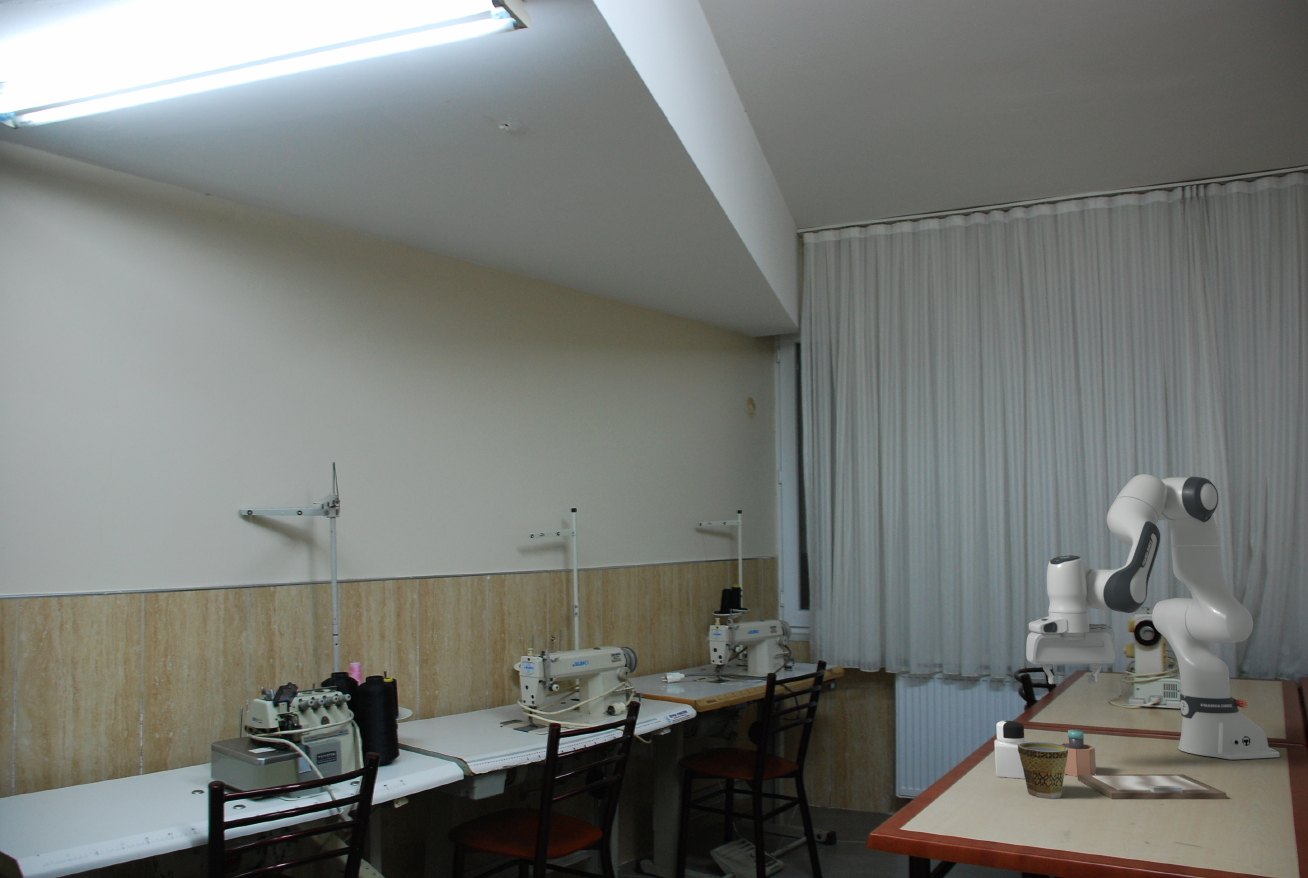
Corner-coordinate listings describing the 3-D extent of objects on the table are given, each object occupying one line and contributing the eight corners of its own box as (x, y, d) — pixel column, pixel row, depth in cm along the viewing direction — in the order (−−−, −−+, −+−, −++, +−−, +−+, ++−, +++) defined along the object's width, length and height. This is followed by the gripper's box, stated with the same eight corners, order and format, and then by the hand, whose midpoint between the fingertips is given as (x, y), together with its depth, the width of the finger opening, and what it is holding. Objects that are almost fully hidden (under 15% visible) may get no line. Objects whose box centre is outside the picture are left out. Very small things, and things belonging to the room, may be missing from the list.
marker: (1081, 768, 219) (1079, 729, 220) (1088, 772, 216) (1085, 732, 217) (1067, 768, 219) (1065, 729, 220) (1073, 772, 216) (1071, 732, 217)
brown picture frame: (1183, 779, 210) (1183, 769, 210) (1226, 798, 194) (1225, 787, 195) (1077, 779, 210) (1077, 769, 211) (1111, 798, 194) (1111, 788, 195)
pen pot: (1085, 768, 221) (1084, 742, 222) (1100, 776, 214) (1099, 749, 214) (1054, 768, 221) (1053, 742, 222) (1068, 776, 214) (1066, 749, 214)
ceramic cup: (1081, 798, 195) (1078, 749, 196) (1041, 802, 192) (1038, 752, 193) (1039, 783, 207) (1037, 737, 208) (1001, 787, 204) (999, 740, 205)
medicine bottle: (1027, 772, 218) (1025, 720, 219) (1029, 779, 211) (1026, 725, 212) (995, 770, 220) (993, 718, 221) (996, 777, 213) (993, 723, 215)
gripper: (1106, 622, 224) (1110, 680, 223) (1021, 623, 225) (1025, 681, 223) (1119, 624, 218) (1123, 684, 217) (1032, 626, 218) (1035, 686, 217)
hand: (1072, 683), depth 220 cm, fingers open, 8 cm apart
